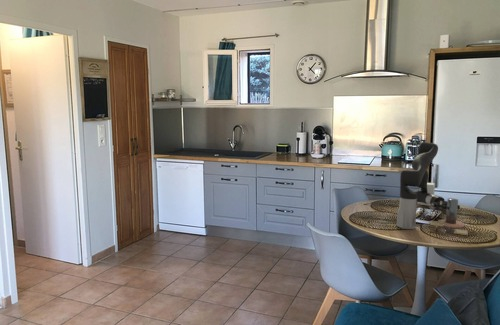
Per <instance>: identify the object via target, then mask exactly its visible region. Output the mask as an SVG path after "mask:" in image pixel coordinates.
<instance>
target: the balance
mask: <svg viewBox="0 0 500 325" xmlns="http://www.w3.org/2000/svg"><path fill="white" fill-rule="evenodd" d="M443 224H444V222H439V221H437V220H430V224H429V225H431V226H434V227H430V228H429V230H428V231H429V233H433V234H441V235H446V236H447V235H448V236H453V237H454V236H455V237H462V238H468V237H469V236H468V234H469V232H468V230H465V229H460V228H449V227H445V226H443ZM439 227H440V228H439Z"/></svg>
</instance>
